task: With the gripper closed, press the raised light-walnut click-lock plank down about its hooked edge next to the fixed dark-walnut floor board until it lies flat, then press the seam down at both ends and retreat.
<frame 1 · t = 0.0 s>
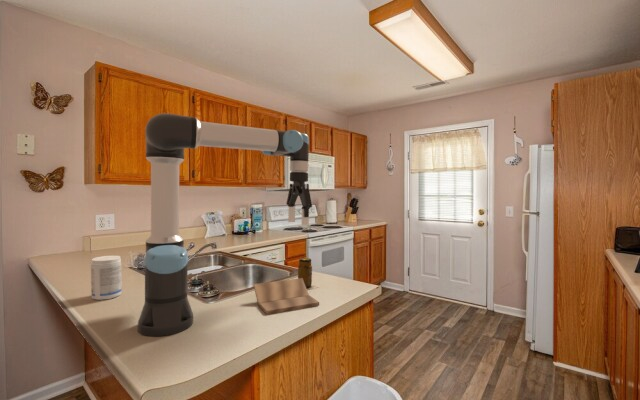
hand: (298, 223, 130), 28 cm above the table, fingers open, 13 cm apart
floor board: (289, 305, 114), on the table
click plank: (281, 290, 121), point 3 cm above the table, hinge at 40.0°
condiment: (305, 287, 137), on the table
supplement tub: (106, 296, 120), on the table
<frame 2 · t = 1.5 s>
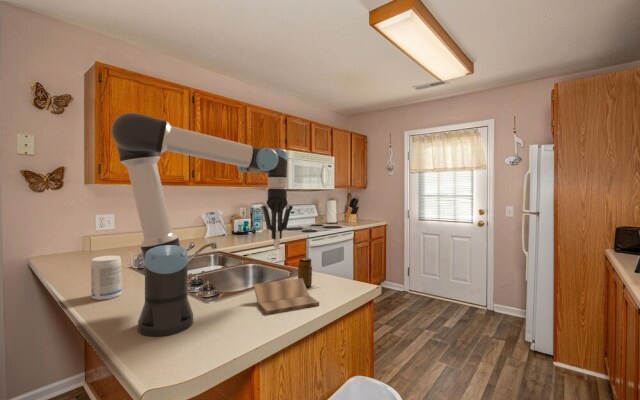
hand: (276, 247, 126), 19 cm above the table, fingers closed
nothing on the table moved.
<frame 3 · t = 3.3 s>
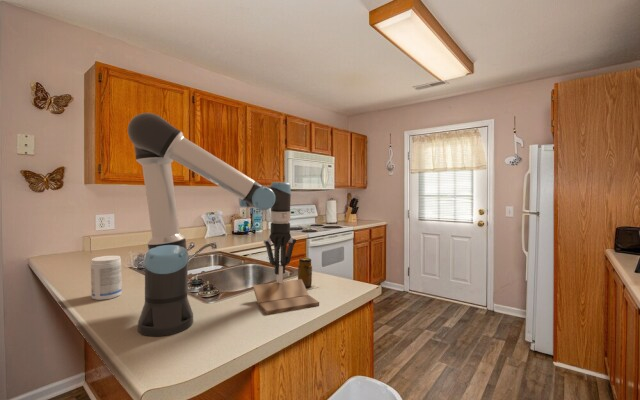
hand: (279, 281, 123), 6 cm above the table, fingers closed
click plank: (281, 291, 121), point 3 cm above the table, hinge at 33.7°, touching gripper
everything else where it was.
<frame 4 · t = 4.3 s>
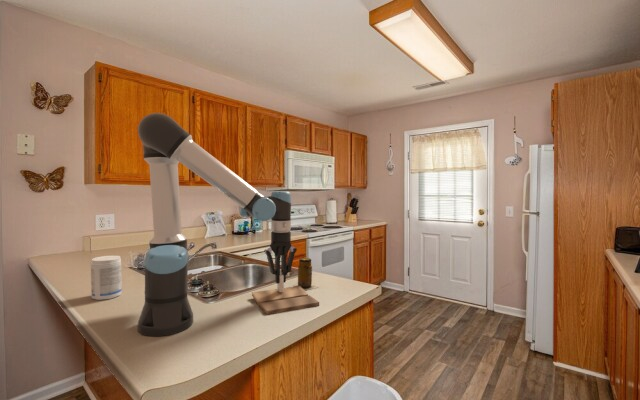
hand: (280, 290, 123), 2 cm above the table, fingers closed
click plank: (280, 294, 122), point 1 cm above the table, hinge at 7.7°, touching gripper
everything else where it was.
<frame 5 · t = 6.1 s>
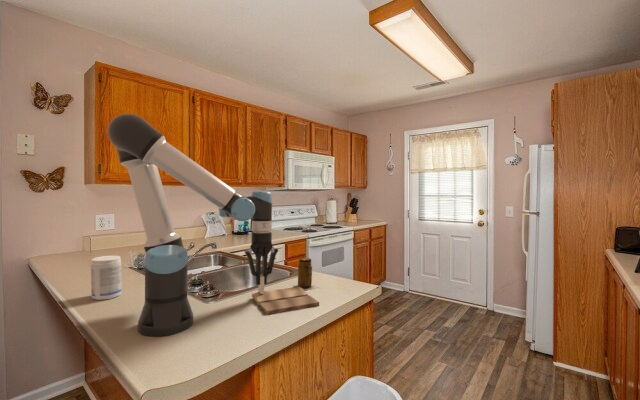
hand: (261, 292, 121), 2 cm above the table, fingers closed
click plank: (280, 295, 122), point 1 cm above the table, hinge at 5.4°, touching gripper
everything else where it was.
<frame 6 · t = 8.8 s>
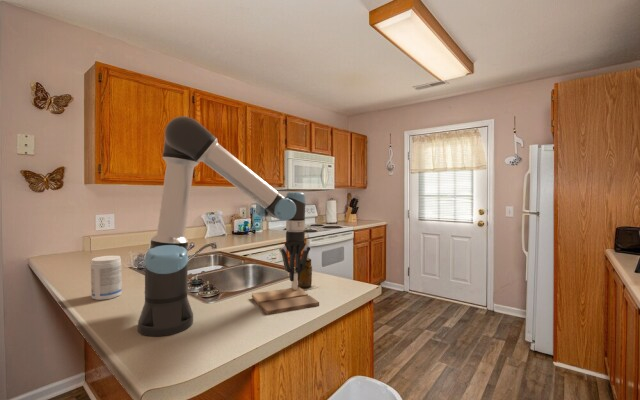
hand: (294, 288, 128), 2 cm above the table, fingers closed
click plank: (280, 295, 122), point 1 cm above the table, hinge at 4.0°, touching gripper
everything else where it was.
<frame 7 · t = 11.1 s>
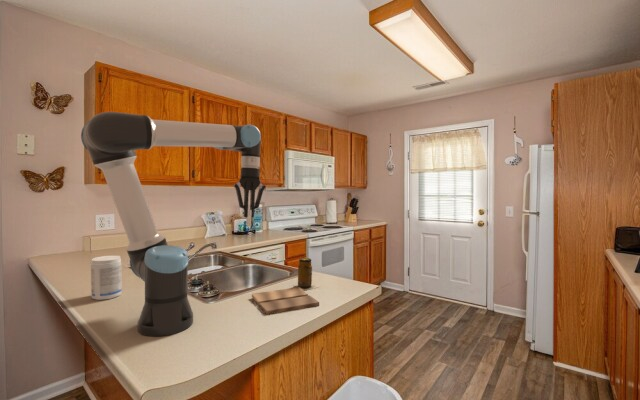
hand: (248, 225, 129), 27 cm above the table, fingers closed
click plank: (280, 295, 122), point 1 cm above the table, hinge at 3.7°
everything else where it was.
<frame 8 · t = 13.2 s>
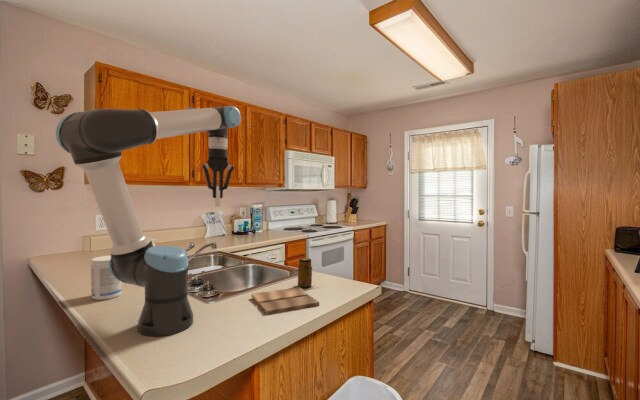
hand: (217, 206, 131), 34 cm above the table, fingers closed
nothing on the table moved.
at the end: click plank at +4° (first picture: +40°); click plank touching nothing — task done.
